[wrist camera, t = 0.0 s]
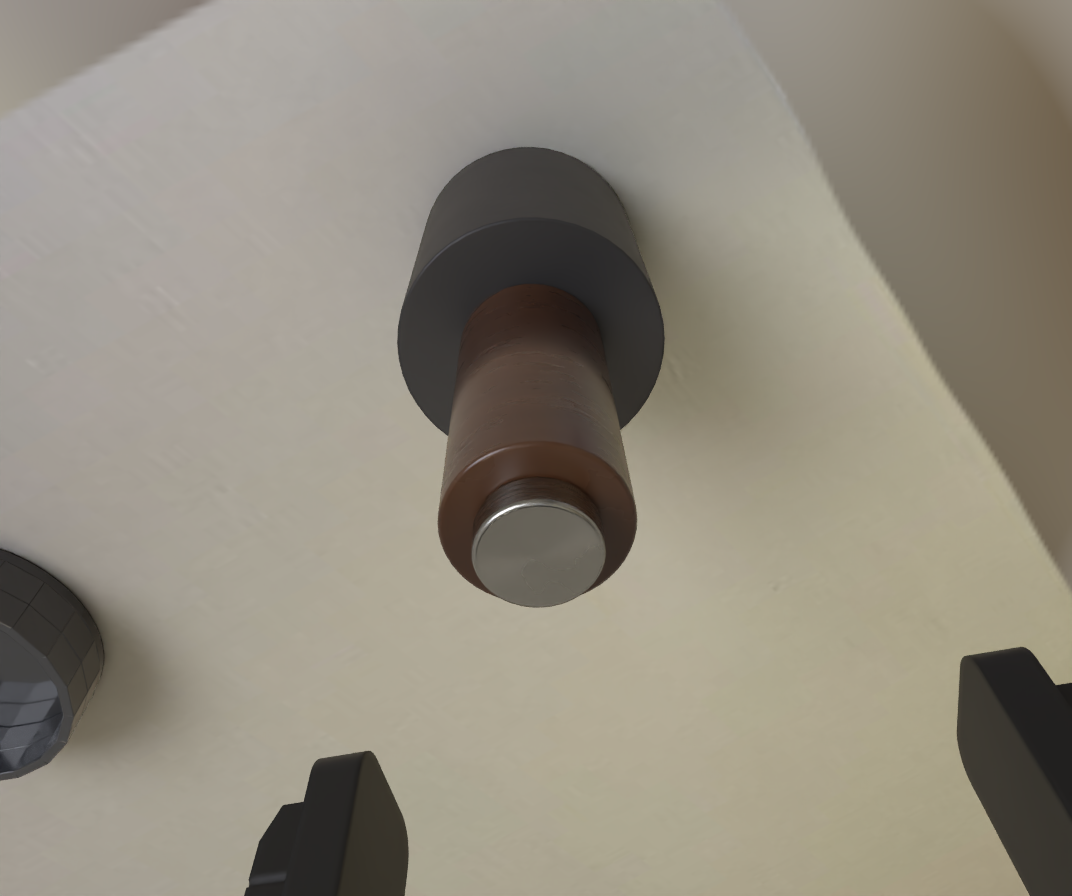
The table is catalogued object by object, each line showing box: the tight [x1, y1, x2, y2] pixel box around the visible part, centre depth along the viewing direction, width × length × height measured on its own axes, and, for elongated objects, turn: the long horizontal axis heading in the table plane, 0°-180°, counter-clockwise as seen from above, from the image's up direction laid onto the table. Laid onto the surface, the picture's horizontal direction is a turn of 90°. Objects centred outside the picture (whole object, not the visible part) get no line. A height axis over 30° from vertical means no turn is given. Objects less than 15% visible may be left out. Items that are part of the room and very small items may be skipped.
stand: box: [397, 147, 665, 436], centre depth 24 cm, size 6×6×7 cm
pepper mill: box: [438, 284, 637, 607], centre depth 18 cm, size 3×3×8 cm
